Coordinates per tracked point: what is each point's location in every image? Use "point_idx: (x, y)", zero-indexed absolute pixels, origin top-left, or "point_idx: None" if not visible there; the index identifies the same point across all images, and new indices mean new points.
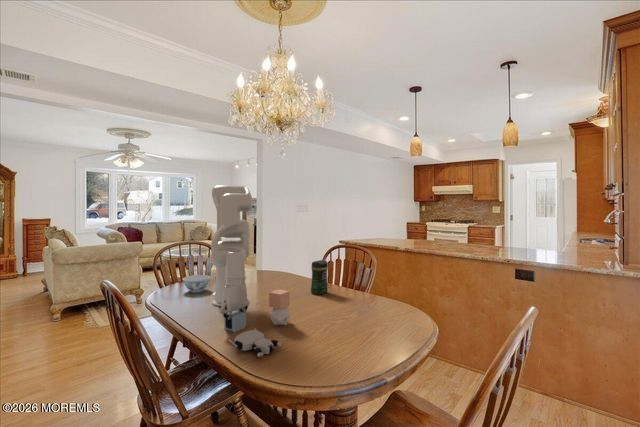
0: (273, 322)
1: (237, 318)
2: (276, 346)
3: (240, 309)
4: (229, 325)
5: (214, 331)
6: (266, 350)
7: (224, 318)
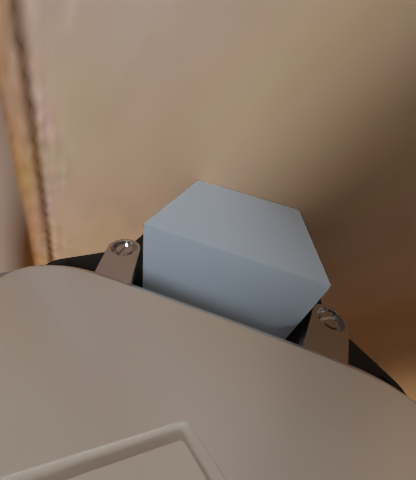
0: None
1: None
2: None
3: (316, 344)
4: None
5: (136, 145)
6: None
7: (166, 207)
